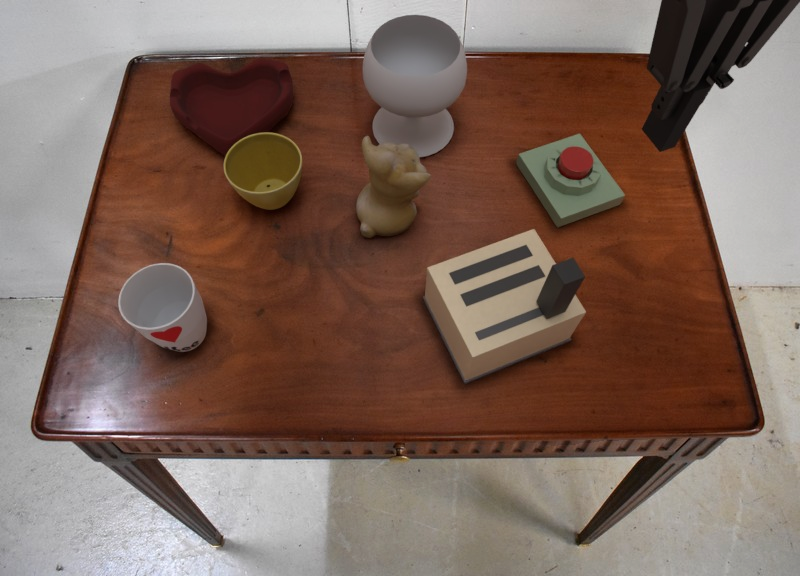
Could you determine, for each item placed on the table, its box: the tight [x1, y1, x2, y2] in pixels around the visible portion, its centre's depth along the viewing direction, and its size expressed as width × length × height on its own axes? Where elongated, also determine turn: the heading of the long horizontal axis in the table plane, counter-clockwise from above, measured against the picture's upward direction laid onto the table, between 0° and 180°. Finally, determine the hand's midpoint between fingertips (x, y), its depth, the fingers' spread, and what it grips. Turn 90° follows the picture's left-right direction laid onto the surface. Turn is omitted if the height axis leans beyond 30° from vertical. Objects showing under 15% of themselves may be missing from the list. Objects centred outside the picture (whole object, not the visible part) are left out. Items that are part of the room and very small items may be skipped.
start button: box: [557, 146, 593, 180], centre depth 80 cm, size 4×4×2 cm
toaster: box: [422, 228, 587, 385], centre depth 70 cm, size 12×14×8 cm
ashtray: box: [169, 56, 295, 157], centre depth 87 cm, size 18×16×5 cm
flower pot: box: [223, 131, 303, 211], centre depth 80 cm, size 10×10×7 cm
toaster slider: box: [536, 257, 586, 319], centre depth 62 cm, size 2×2×8 cm
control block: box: [515, 133, 626, 228], centre depth 82 cm, size 12×10×4 cm
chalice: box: [362, 14, 468, 158], centre depth 82 cm, size 14×14×15 cm
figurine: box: [355, 135, 432, 239], centre depth 74 cm, size 10×8×15 cm
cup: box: [117, 262, 208, 353], centre depth 69 cm, size 8×8×10 cm
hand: (658, 137), depth 49 cm, fingers closed
